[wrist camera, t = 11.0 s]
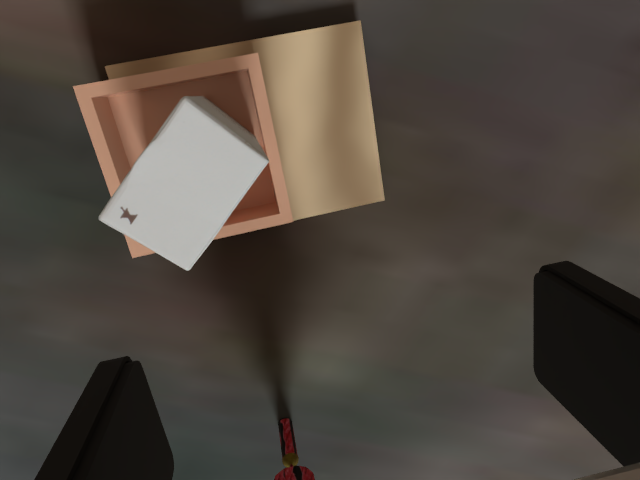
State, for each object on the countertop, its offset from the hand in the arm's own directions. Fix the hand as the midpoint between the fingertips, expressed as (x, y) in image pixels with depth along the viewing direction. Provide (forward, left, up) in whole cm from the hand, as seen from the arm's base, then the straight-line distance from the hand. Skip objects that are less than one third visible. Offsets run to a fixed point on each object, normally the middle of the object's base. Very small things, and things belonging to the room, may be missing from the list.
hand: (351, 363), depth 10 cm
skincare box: (+4, -3, -22) cm, 22 cm away
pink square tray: (+5, -3, -22) cm, 23 cm away
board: (+1, -3, -23) cm, 23 cm away
